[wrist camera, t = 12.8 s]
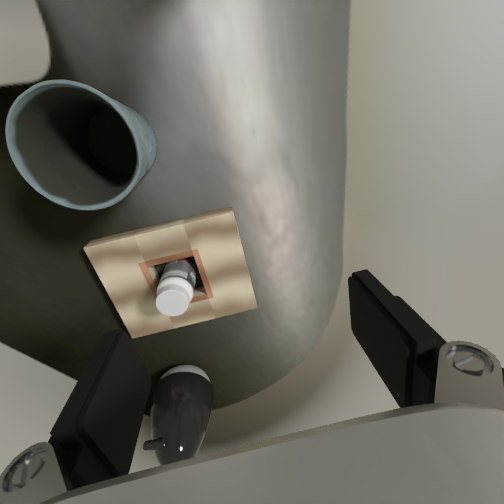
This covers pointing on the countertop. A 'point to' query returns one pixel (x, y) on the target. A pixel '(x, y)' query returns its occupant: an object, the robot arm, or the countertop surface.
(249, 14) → the countertop surface
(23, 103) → the blue green cup
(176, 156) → the countertop surface
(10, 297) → the countertop surface
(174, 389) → the dark rounded oval
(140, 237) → the socket plate
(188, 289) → the pill bottle
